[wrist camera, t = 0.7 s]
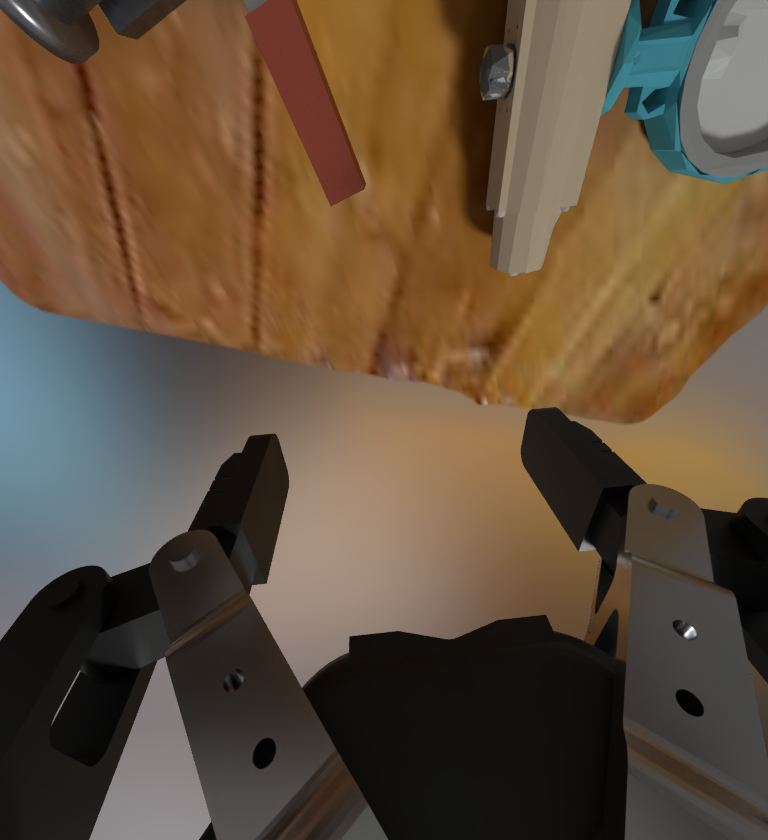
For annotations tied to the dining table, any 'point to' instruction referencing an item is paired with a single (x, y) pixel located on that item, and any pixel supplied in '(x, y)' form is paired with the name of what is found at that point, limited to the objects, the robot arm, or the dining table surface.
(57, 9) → the pipe valve
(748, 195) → the dining table surface
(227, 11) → the dining table surface
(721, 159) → the butterfly valve
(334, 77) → the dining table surface
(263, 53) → the valve lever
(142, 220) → the dining table surface
